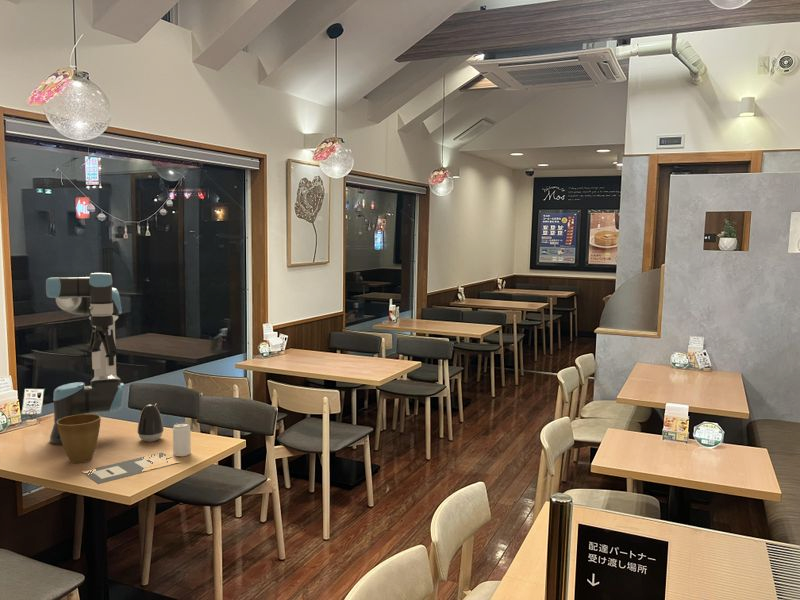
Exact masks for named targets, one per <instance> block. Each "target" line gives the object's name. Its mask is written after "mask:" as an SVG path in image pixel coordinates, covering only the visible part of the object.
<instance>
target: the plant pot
mask: <svg viewBox="0 0 800 600" xmlns="http://www.w3.org/2000/svg"><path fill="white" fill-rule="evenodd" d="M101 421H102V420H101V415H99V414H98V413H88V414H79V415H73V416H68V417H64V418H61V419H59V420H58V421H57V427H58V431H59V435H60V439H61V442H62V448H63V449H64V452H65V454H66V456H67V458H68V461H69V462H70V463H72V464H82V462H83V463H87V462H89V461H91V460H92V459H93V456H94V453H95V451H96V446H97V442H98V439H99V436H100V435H99V433H100V429H101ZM86 461H87V462H86Z"/></svg>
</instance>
